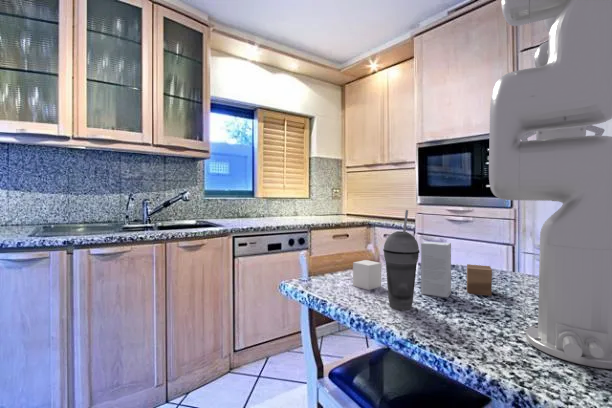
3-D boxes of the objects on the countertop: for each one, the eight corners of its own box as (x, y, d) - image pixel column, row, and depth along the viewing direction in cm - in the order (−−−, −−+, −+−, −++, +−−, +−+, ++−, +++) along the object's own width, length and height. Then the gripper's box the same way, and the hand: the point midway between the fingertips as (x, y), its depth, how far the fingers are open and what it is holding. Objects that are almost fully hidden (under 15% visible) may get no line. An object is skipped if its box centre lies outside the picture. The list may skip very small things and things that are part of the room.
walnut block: (491, 296, 75) (492, 270, 75) (467, 293, 78) (467, 268, 77) (489, 290, 80) (489, 266, 80) (466, 288, 82) (467, 264, 82)
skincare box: (451, 293, 77) (452, 242, 77) (448, 298, 73) (448, 245, 73) (424, 289, 80) (425, 240, 80) (420, 294, 77) (420, 242, 76)
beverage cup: (394, 298, 73) (395, 208, 72) (425, 306, 68) (426, 209, 67) (375, 306, 68) (376, 209, 67) (408, 315, 63) (409, 210, 62)
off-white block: (368, 290, 80) (368, 265, 80) (352, 285, 84) (353, 262, 83) (381, 286, 83) (381, 263, 83) (365, 282, 87) (365, 260, 87)
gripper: (520, 101, 87) (519, 165, 87) (608, 89, 77) (606, 162, 78) (521, 107, 93) (519, 167, 93) (602, 97, 83) (600, 164, 84)
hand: (559, 165), depth 86 cm, fingers open, 9 cm apart
